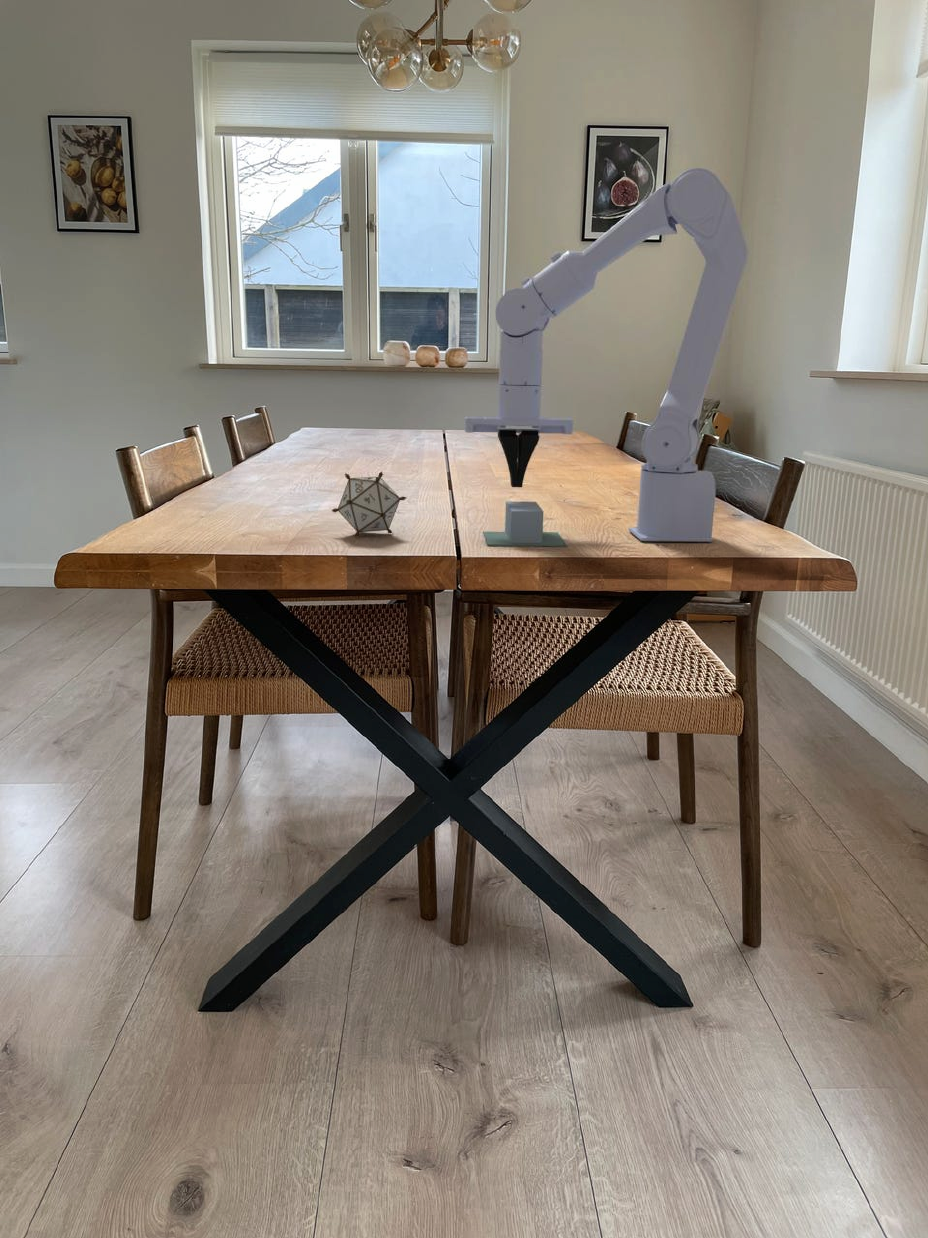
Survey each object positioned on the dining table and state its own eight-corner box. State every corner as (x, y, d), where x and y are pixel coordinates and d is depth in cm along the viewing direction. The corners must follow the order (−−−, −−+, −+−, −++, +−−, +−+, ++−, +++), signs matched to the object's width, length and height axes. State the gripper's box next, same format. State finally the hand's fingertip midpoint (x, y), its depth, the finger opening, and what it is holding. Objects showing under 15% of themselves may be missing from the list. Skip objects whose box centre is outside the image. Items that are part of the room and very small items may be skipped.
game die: (381, 564, 123) (402, 510, 116) (319, 540, 122) (336, 485, 115) (397, 521, 130) (418, 467, 122) (338, 498, 129) (356, 443, 121)
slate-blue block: (535, 501, 125) (543, 511, 118) (534, 531, 127) (542, 543, 119) (505, 501, 125) (511, 511, 118) (505, 531, 126) (510, 542, 119)
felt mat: (557, 533, 126) (557, 532, 126) (567, 546, 118) (567, 544, 118) (482, 532, 126) (482, 531, 126) (487, 545, 117) (487, 544, 117)
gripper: (568, 384, 131) (564, 483, 135) (464, 382, 130) (462, 481, 134) (577, 386, 124) (572, 489, 128) (467, 384, 123) (465, 488, 127)
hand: (516, 486), depth 130 cm, fingers closed
